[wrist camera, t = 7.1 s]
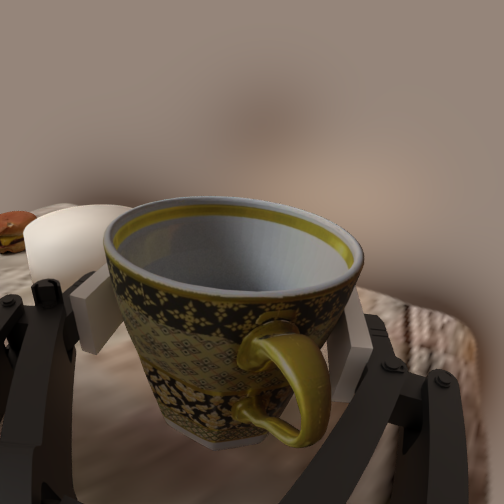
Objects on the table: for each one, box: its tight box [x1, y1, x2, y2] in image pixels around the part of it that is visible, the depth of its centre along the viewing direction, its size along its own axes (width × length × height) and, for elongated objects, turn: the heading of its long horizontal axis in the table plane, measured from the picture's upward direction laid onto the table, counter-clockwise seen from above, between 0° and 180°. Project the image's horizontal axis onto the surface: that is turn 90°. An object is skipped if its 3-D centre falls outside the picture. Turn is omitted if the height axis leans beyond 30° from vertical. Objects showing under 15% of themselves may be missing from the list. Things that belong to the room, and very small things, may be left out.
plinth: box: [23, 205, 133, 293], centre depth 35 cm, size 15×15×6 cm
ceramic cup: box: [103, 196, 364, 451], centre depth 13 cm, size 13×10×10 cm
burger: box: [0, 211, 37, 253], centre depth 39 cm, size 10×9×5 cm
